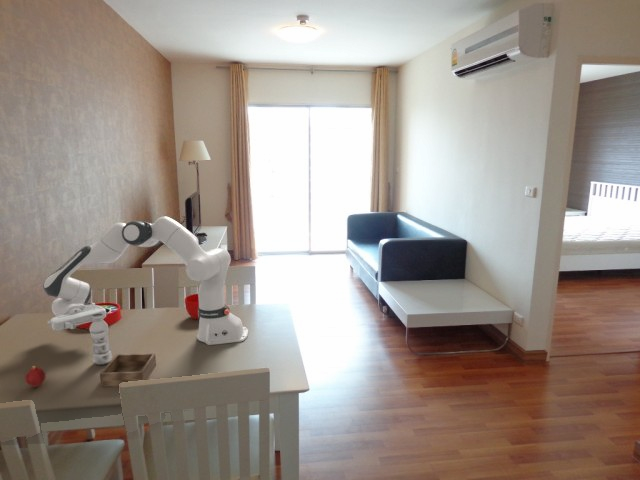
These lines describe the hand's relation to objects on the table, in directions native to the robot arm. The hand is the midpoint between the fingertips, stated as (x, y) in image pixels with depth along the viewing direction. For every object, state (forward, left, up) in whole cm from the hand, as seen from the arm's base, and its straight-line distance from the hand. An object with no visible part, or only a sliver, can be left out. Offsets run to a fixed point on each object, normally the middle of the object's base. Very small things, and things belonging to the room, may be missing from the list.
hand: (86, 323), depth 172 cm
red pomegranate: (+7, +25, -13) cm, 29 cm away
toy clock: (+11, -35, -14) cm, 39 cm away
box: (-23, +19, -13) cm, 33 cm away
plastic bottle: (-9, +9, -13) cm, 18 cm away
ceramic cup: (-38, -38, -13) cm, 55 cm away
